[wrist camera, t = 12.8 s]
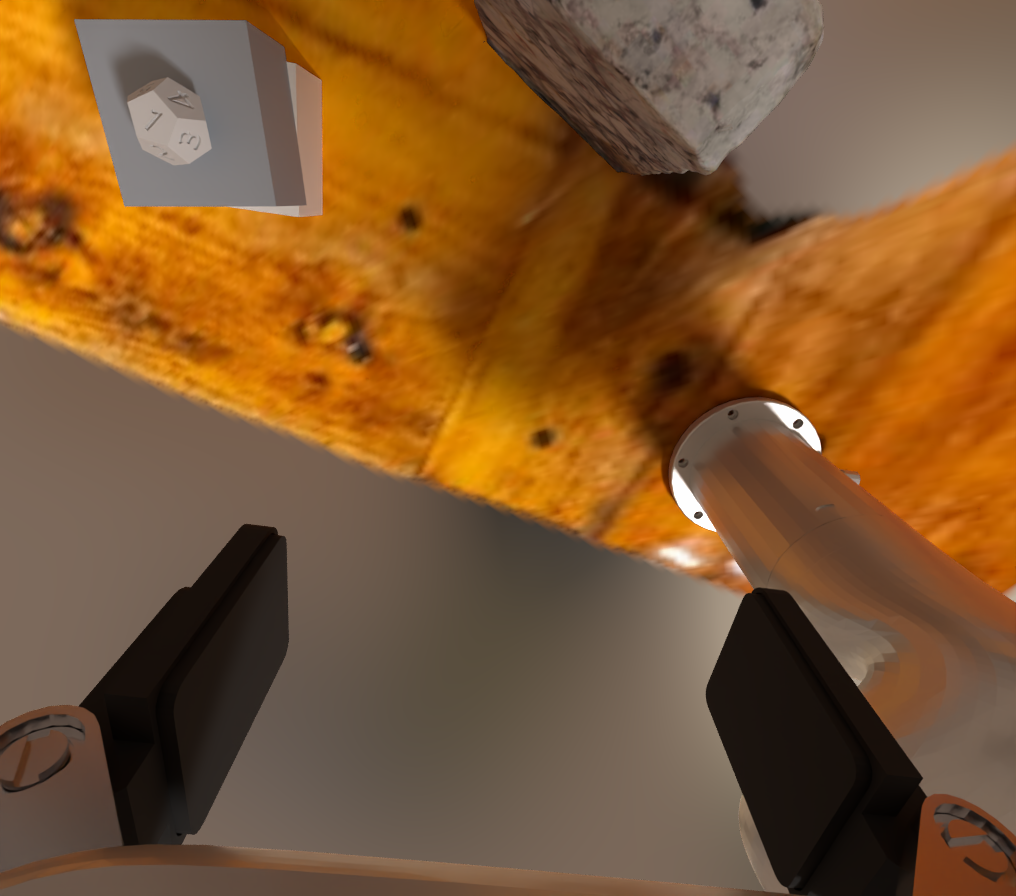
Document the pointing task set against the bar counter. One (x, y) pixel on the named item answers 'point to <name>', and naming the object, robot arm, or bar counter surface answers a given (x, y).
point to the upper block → (226, 104)
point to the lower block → (304, 142)
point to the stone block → (658, 70)
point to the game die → (169, 121)
